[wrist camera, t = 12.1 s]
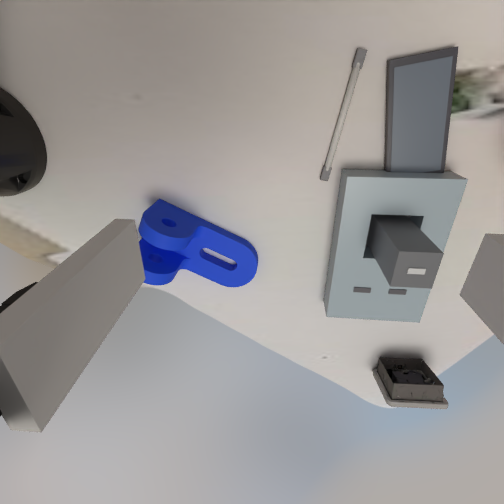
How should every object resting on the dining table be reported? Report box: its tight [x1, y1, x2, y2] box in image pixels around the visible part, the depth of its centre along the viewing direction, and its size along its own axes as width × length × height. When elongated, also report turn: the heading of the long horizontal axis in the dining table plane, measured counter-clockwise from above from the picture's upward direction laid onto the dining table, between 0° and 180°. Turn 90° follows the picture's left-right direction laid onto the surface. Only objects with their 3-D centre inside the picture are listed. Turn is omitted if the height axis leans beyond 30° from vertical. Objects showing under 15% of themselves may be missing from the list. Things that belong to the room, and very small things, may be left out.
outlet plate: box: [324, 169, 468, 323], centre depth 43 cm, size 14×22×4 cm, turn 0°
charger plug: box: [366, 214, 444, 289], centre depth 38 cm, size 4×4×12 cm
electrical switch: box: [373, 358, 448, 409], centre depth 52 cm, size 9×5×9 cm, turn 93°
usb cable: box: [320, 48, 367, 181], centre depth 37 cm, size 15×1×1 cm, turn 170°
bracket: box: [139, 199, 258, 287], centre depth 44 cm, size 18×8×9 cm, turn 64°
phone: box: [384, 47, 458, 173], centre depth 37 cm, size 7×14×1 cm, turn 10°
